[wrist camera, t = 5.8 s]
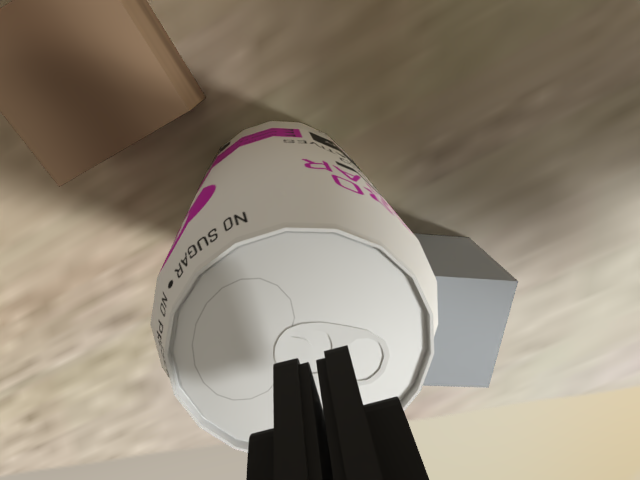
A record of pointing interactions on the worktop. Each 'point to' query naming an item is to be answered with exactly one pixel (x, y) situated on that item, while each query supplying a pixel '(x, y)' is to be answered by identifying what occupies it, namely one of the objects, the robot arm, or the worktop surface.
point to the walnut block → (88, 79)
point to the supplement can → (289, 282)
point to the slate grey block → (466, 310)
